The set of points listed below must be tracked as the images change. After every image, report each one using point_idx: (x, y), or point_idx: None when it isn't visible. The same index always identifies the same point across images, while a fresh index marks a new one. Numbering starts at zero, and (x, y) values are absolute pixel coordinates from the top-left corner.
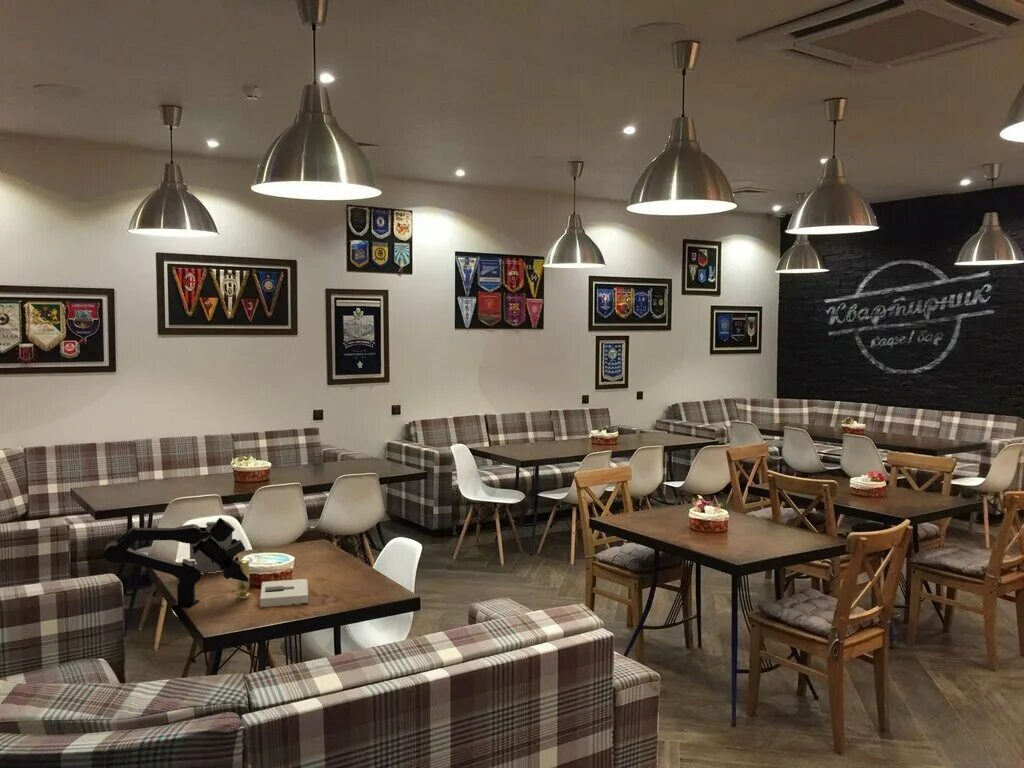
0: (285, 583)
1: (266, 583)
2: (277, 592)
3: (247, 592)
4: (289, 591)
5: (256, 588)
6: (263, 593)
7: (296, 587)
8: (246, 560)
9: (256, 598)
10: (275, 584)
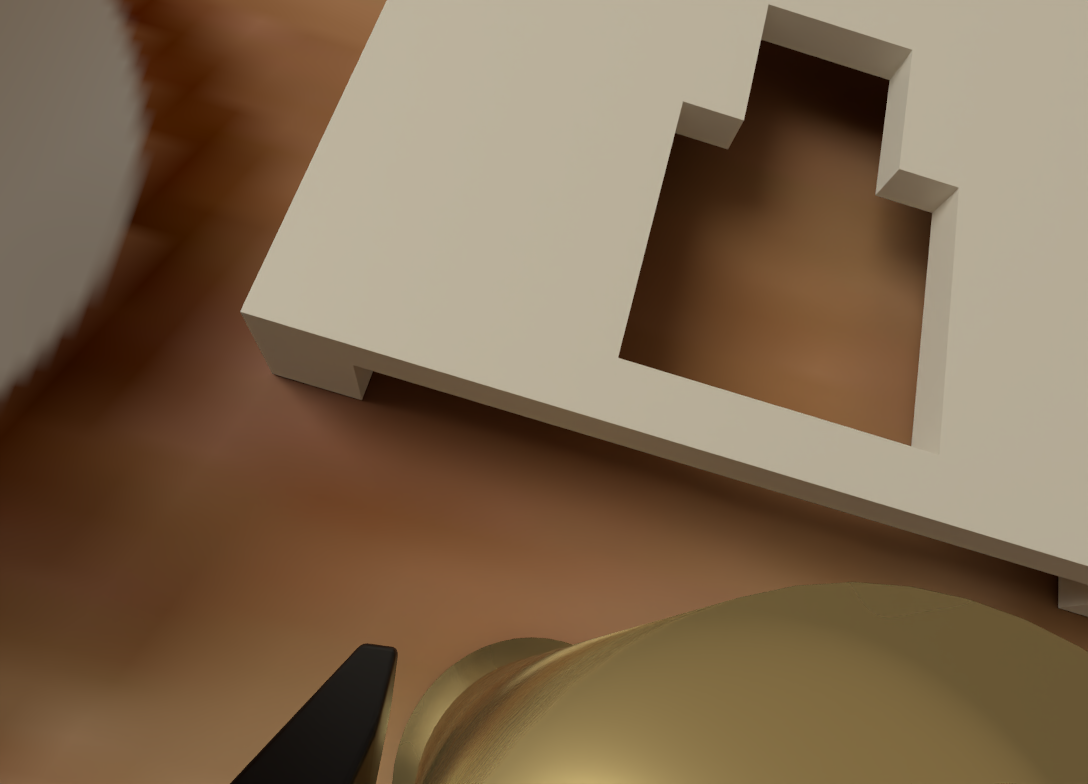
0: (569, 43)
1: (390, 275)
2: (1003, 280)
3: (457, 680)
4: (1003, 130)
5: (105, 430)
6: (993, 490)
7: (846, 1)
8: (628, 731)
9: (679, 575)
10: (541, 173)
